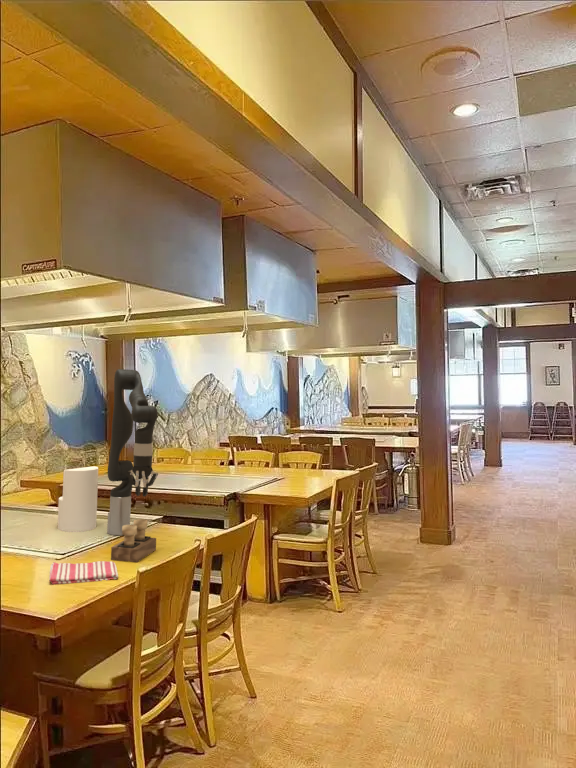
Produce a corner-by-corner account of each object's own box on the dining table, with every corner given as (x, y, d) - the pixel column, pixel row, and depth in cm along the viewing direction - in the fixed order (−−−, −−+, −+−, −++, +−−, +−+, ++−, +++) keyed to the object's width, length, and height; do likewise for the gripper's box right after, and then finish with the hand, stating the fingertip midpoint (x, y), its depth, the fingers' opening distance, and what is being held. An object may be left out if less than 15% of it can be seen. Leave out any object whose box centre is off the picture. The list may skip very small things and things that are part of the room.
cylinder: (104, 526, 287) (106, 468, 286) (73, 533, 272) (75, 472, 272) (80, 521, 296) (82, 464, 296) (49, 527, 281) (51, 467, 281)
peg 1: (119, 549, 236) (119, 527, 236) (125, 545, 242) (126, 524, 242) (132, 550, 235) (133, 528, 235) (138, 546, 241) (139, 525, 241)
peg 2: (130, 542, 246) (131, 521, 246) (136, 539, 252) (137, 518, 252) (143, 544, 245) (144, 522, 245) (148, 540, 251) (149, 519, 251)
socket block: (110, 559, 236) (111, 545, 236) (131, 547, 253) (131, 534, 253) (137, 562, 234) (137, 548, 234) (155, 549, 251) (156, 536, 251)
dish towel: (49, 571, 221) (50, 561, 221) (115, 566, 229) (115, 557, 229) (48, 586, 205) (49, 576, 205) (119, 581, 213) (119, 571, 213)
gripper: (123, 454, 246) (121, 496, 246) (155, 456, 243) (153, 498, 243) (131, 452, 253) (129, 493, 253) (162, 454, 251) (160, 495, 251)
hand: (141, 495), depth 248 cm, fingers closed
